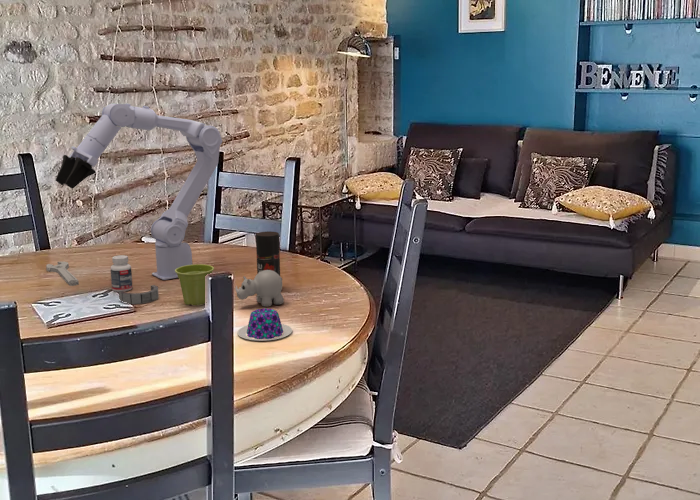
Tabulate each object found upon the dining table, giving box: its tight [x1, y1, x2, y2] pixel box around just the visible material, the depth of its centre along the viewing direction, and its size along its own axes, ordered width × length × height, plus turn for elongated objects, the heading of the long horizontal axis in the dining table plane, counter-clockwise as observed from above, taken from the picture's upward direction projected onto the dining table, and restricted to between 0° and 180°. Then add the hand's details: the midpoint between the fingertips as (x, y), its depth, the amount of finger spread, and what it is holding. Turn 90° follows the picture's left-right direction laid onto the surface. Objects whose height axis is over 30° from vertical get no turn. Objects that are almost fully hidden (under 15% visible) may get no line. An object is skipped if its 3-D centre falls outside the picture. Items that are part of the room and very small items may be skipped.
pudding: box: [237, 307, 293, 342], centre depth 174 cm, size 12×12×5 cm
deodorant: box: [255, 230, 281, 277], centre depth 206 cm, size 6×6×15 cm
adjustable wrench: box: [45, 261, 80, 287], centre depth 224 cm, size 25×6×2 cm, turn 27°
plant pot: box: [175, 263, 215, 306], centre depth 197 cm, size 9×9×9 cm
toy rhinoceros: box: [234, 270, 285, 308], centre depth 194 cm, size 7×12×8 cm, turn 116°
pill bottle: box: [110, 254, 133, 293], centre depth 209 cm, size 5×5×9 cm
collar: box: [117, 284, 160, 305], centre depth 200 cm, size 10×6×2 cm, turn 127°
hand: (63, 184), depth 201 cm, fingers open, 7 cm apart
